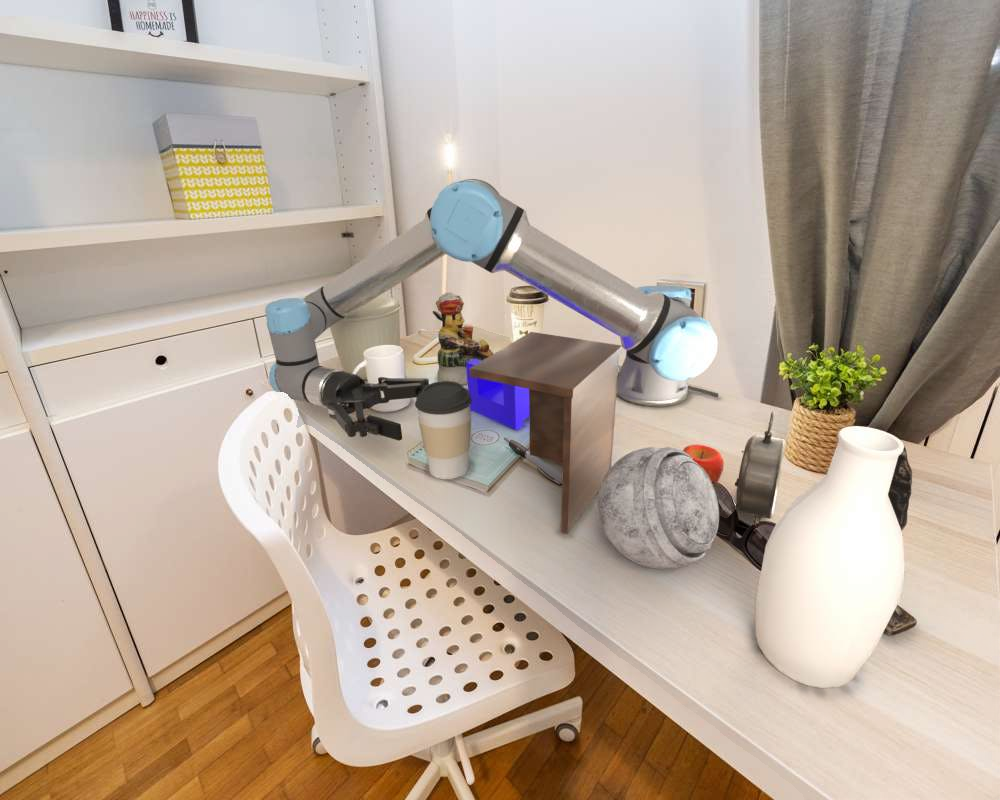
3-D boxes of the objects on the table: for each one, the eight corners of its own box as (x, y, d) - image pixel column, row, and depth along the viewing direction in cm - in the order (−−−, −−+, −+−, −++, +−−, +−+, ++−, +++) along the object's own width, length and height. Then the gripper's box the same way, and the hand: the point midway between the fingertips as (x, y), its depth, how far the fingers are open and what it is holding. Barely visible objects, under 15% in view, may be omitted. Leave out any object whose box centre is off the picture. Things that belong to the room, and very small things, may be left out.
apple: (666, 486, 81) (671, 444, 77) (697, 477, 83) (704, 436, 79) (694, 508, 75) (701, 465, 72) (727, 498, 77) (735, 455, 74)
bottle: (828, 724, 47) (917, 493, 36) (722, 638, 55) (767, 430, 44) (888, 664, 52) (982, 446, 41) (782, 593, 60) (837, 398, 50)
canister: (384, 354, 139) (374, 276, 130) (423, 371, 127) (414, 286, 118) (322, 373, 128) (305, 289, 119) (357, 393, 116) (342, 302, 107)
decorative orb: (681, 615, 58) (699, 507, 52) (573, 559, 67) (577, 460, 60) (727, 544, 68) (746, 447, 62) (628, 503, 77) (636, 414, 70)
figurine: (476, 391, 115) (471, 304, 107) (422, 380, 122) (413, 297, 114) (503, 373, 125) (500, 291, 116) (451, 363, 132) (445, 285, 123)
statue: (889, 642, 54) (955, 484, 46) (828, 595, 60) (876, 447, 51) (916, 629, 55) (985, 473, 47) (853, 584, 61) (904, 438, 53)
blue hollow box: (515, 430, 98) (514, 379, 94) (469, 409, 107) (466, 362, 103) (583, 395, 111) (585, 350, 107) (536, 379, 120) (536, 336, 116)
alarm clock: (766, 541, 69) (792, 435, 62) (723, 528, 71) (743, 425, 64) (776, 498, 77) (799, 400, 70) (737, 488, 80) (756, 392, 73)
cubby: (477, 504, 78) (469, 368, 68) (531, 451, 91) (530, 331, 82) (568, 536, 71) (573, 389, 61) (612, 473, 84) (622, 345, 75)
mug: (361, 419, 105) (352, 364, 99) (350, 404, 111) (341, 352, 106) (416, 405, 110) (410, 353, 104) (402, 392, 116) (396, 341, 111)
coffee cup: (412, 476, 85) (402, 394, 79) (438, 450, 93) (431, 373, 86) (461, 487, 82) (455, 402, 76) (484, 458, 89) (480, 379, 83)
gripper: (385, 385, 106) (470, 405, 96) (285, 437, 87) (377, 470, 77) (380, 350, 103) (468, 368, 93) (275, 397, 84) (370, 426, 74)
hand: (427, 414), depth 85 cm, fingers open, 13 cm apart
